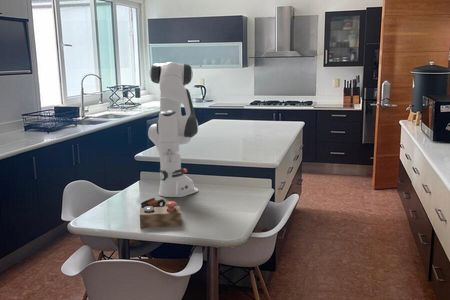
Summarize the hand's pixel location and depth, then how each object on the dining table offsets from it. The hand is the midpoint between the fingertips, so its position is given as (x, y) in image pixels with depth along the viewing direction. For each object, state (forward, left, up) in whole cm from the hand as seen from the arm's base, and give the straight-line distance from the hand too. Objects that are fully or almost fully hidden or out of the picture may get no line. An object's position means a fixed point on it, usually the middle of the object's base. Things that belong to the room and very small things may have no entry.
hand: (170, 177), depth 208 cm
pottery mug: (-1, -18, -21) cm, 28 cm away
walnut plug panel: (+4, -2, -21) cm, 21 cm away
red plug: (0, 0, -18) cm, 18 cm away
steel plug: (+8, -5, -20) cm, 23 cm away
